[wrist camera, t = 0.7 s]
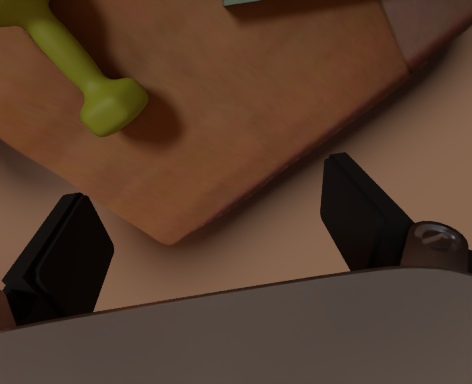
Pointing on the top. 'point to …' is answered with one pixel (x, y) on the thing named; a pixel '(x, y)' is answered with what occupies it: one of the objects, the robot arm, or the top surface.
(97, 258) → the robot arm
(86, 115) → the dumbbell
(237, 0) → the board
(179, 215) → the top surface
